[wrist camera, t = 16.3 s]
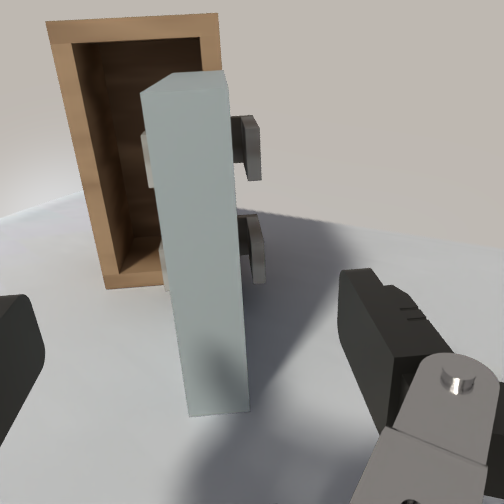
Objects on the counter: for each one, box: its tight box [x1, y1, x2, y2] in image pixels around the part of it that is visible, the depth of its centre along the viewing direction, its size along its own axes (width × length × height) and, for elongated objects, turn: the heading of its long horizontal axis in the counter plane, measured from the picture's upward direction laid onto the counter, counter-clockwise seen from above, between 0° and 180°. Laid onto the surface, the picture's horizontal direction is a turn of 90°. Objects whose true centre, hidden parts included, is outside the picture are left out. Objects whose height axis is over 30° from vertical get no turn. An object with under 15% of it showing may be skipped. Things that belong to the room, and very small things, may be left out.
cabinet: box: [46, 13, 266, 291], centre depth 31 cm, size 12×12×18 cm
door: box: [140, 70, 250, 417], centre depth 23 cm, size 12×3×15 cm, turn 4°
